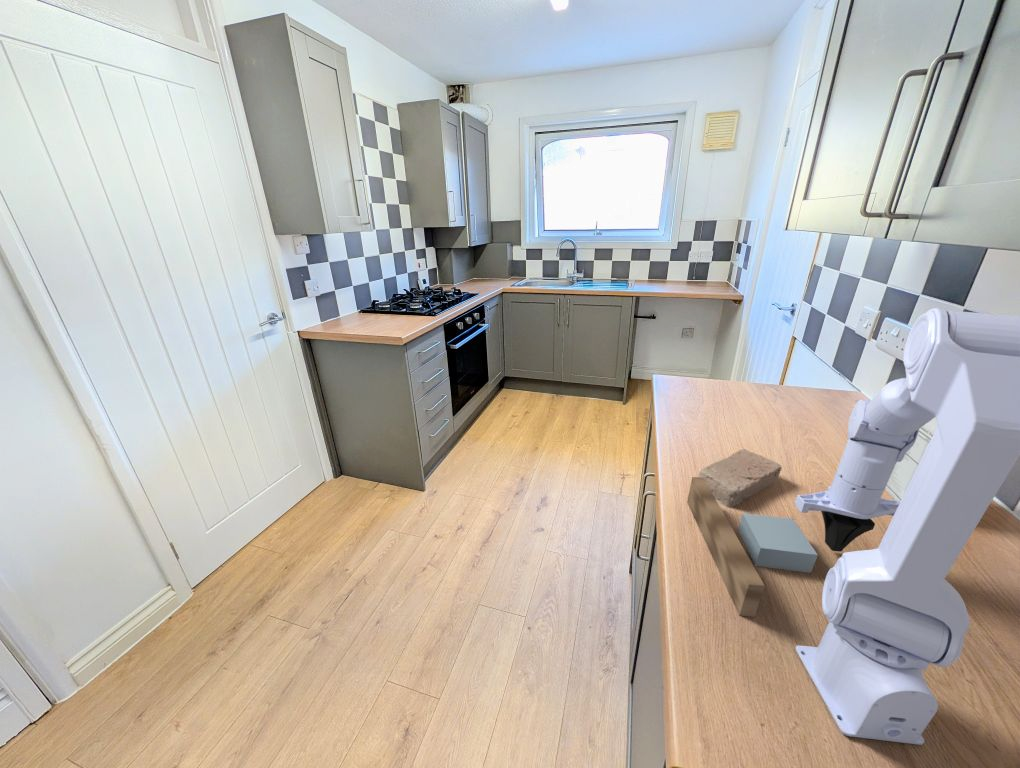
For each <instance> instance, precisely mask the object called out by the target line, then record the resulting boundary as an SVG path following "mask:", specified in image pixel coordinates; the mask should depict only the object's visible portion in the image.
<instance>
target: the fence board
mask: <svg viewBox="0 0 1020 768" xmlns="http://www.w3.org/2000/svg"><path fill="white" fill-rule="evenodd" d="M686 503H687V505H688V507H689V509H690V511H691V514H692V516H693V518H694V520H695V522H696V525H697V527H698V529H699V532H700V533H701V536H702V537H703V540H704V542H705V544H706V546H707V549H708V551H709V553H710V555H711V557H712V560H713V562H714V564H715V565H716V568H717V570H718V572H719V575H720V576H721V578H722V581H723V583H724V585H725V587H726V589H727V592H728V593H729V596H730V598H731V600H732V603H733V604H734V607H735V609H736V611H737V613H738V615H739V616H743V617H753V618H754V617H755V616H756V614H757V610H758V607H759V604H760V601H761V598H762V595H763V592H764V589H765V583H764V582H763V580H762V579H761V577H760V575H759V573H758V572H757V570H756V568H755V566H754V565H753V564H754V563H753V562H752V561H751V559H750V557H749V556H748V554H747V552H746V550H745V548H744V547H743V545H742V543H741V541H740V540H739V539H738V537H737V535H736V532H735V531H734V529H733V528H732V526H731V524H730V522H729V521H728V519H727V517H726V515H725V514H724V512H723V510H722V508H721V507H720V505H719V502H718V501H717V500H716V499H715V498H714V496H713V494H712V492H711V490H710V489H709V487H708V485H707V483H706V482H705V480H704V478H701V477H697V476H692V477H691V482H690V486H689V492H688V496H687V500H686Z"/></svg>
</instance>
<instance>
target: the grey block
mask: <svg viewBox="0 0 1020 768" xmlns="http://www.w3.org/2000/svg"><path fill="white" fill-rule="evenodd" d="M737 531H738V533H739V534H740V537H741V538H742V541H743V543H744V546H745V548H746V550H747V552H748V553H749V555H750V557H751V560H752V563H753V564H754V565H755V566H754V567H763V568H772V569H777V570H779V569H781V570H786V571H793V572H794V571H795V572H801V573H802V572H803V573H810V574H811V573H812V571H813V568H814V566H815V563H816V562H817V561H816V560H817V558H818V553H817V552H816V550H815V548H814V547H813V546H812V544H811V543H810V541H809V540H808V539H807V536H806V535H805V533H803V531H802V530H801V528H800V527H799V525H798V524H797V521H795V520H794V518H789V517H788V518H787V517H779V516H778V517H777V516H771V515H761V514H753V513H744V512H743V513H742V514H741V518H740V522H739V525H738V529H737Z"/></svg>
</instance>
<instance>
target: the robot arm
mask: <svg viewBox="0 0 1020 768" xmlns="http://www.w3.org/2000/svg"><path fill="white" fill-rule="evenodd" d="M902 360H903V361H902V362H903V365H904V368H905V369H904V370H905V376H906V377H901V378H898V379H897V378H896V379H894V380H892V381H889V382H888V383H886V384H885V385H884V386H883V387H882V389H880V390H879V392H878V393H876V395H875V396H874V397H873V398H872V399H871V400H866V399H859V400H858V401H857V402H856V403H855V405H854V407H853V409H852V411H851V413H850V416H849V419H848V423H847V436H848V439H847V442H846V445H845V447H844V449H843V453H842V455H841V459H840V461H839V464H838V465H837V469H836V472H835V474H834V477H833V480H832V482H831V484H830V485H828V487H827V490H825V491H819V492H814V493H809V494H797V496H796V498H795V501H794V505H795V507H796V509H798V510H799V511H800V513H807V514H808V513H809V511H817V512H820V513H821V514H822V518H823V523H824V543H825V544H826V545H827V547H828V548H829V549H830V550H831V552H842V551H843V550H844V549H845V548H846V547H847V546H848V545H849V544H850V543H852V542H853V541H854V540H855V539H857V538H858V537H860V536H861V535H863V534H864V533H867V532H869V531H872V530H874V528H875V527H876V523H875V521H873V520H872V519H874V518H879V517H883V516H892V518H891V520H890V523H889V525H888V527H887V529H886V531H885V533H884V535H883V537H882V539H881V541H880V544H879V545H878V547H877V548H873V549H864V550H854V551H848V552H846V551H845V552H843V553H842V555H841V556H840V557H839V558H838V559H837V561H836V563H835V564H834V566H832V567H831V568H829V570H828V572H827V573H826V576H825V579H824V583H823V588H822V592H821V593H822V594H821V609H822V612H823V614H824V616H825V618H826V619H827V620H828V624H827V626H826V628H825V630H824V633H823V635H822V638H821V640H820V642H819V644H818V646H810V645H800V644H799V645H796V646H795V651H796V653H797V655H798V657H799V658H800V661H801V662H802V663H803V666H804V668H805V669H806V671H807V672H808V675H809V676H810V678H811V680H812V681H813V683H814V685H815V687H816V689H817V691H818V693H819V694H820V696H821V698H822V700H823V702H824V704H825V705H826V707H827V709H828V711H829V713H830V714H831V716H832V718H833V720H834V721H835V723H836V725H837V726H838V728H839V729H838V730H840V732H841V733H842V734H843V735H844V736H847V737H853V738H861V739H867V740H868V739H869V740H879V741H886V742H896V743H903V744H912V745H917V746H918V745H920V746H922V745H924V743H925V741H926V740H925V739H924V737H923V735H922V734H923V732H924V731H925V729H926V728H927V727H928V725H929V724H930V722H931V721H932V720H933V718H934V717H935V715H936V713H937V711H938V709H939V703H938V700H937V699H936V697H935V695H934V693H933V692H932V691H931V689H930V688H929V685H928V683H927V682H926V680H925V678H924V675H923V672H922V671H924V672H925V671H927V669H928V667H929V666H930V665H931V664H932V665H934V666H937V667H939V668H946V667H948V666H950V665H952V664H954V663H955V662H957V661H958V660H959V658H960V656H961V654H962V651H963V648H964V642H965V636H966V634H967V631H968V629H969V627H970V626H971V621H970V617H969V614H968V609H967V606H966V604H965V602H964V600H963V597H962V595H960V593H959V592H958V591H957V590H956V588H955V587H954V586H952V584H951V583H949V582H948V581H947V580H946V579H945V578H946V577H947V575H948V574H949V572H950V570H951V568H952V567H953V565H954V564H955V562H956V561H957V558H958V557H959V556H960V554H961V552H962V551H963V549H964V548H965V546H966V544H967V542H968V541H969V539H970V537H971V536H972V534H973V533H974V530H975V529H976V528H977V526H978V524H979V523H980V521H981V519H982V517H983V516H984V514H985V513H986V511H987V510H988V508H989V506H990V505H991V503H992V501H993V499H994V498H995V497H996V495H997V493H998V492H999V489H1000V488H1001V486H1002V485H1003V483H1004V482H1005V480H1006V478H1007V477H1008V475H1009V473H1010V471H1011V470H1012V468H1013V467H1014V465H1015V463H1016V462H1017V460H1018V458H1019V457H1020V315H1014V314H1013V315H1012V314H1002V313H1001V314H1000V313H999V314H997V313H988V312H987V313H986V312H972V311H960V310H959V311H957V310H946V309H945V308H941V307H940V308H939V307H932V308H931V309H929V310H927V311H926V312H924V313H922V314H921V315H920V316H919V317H918V318H917V319H916V320H915V322H914V323H913V325H912V327H911V329H910V331H909V334H908V336H907V339H906V342H905V345H904V350H903V357H902ZM935 417H936V419H937V423H938V426H937V428H936V430H935V432H934V434H933V436H932V438H931V440H930V442H929V444H928V446H927V448H926V450H925V452H924V454H923V457H922V459H921V461H920V463H919V465H918V467H917V469H916V471H915V473H914V475H913V477H912V479H911V481H910V483H909V485H908V487H907V489H906V492H905V494H904V496H903V498H902V500H901V502H898V501H896V500H895V499H893V500H892V499H886V498H882V496H883V494H884V492H885V491H886V489H885V487H886V485H887V483H888V480H889V478H890V476H891V474H892V471H893V469H894V467H895V465H896V462H901V461H902V460H903V458H904V456H905V454H906V452H907V451H908V450H909V449H910V448H911V447H912V446H913V445H914V443H915V441H916V438H917V435H918V432H919V428H921V427H922V426H924V425H925V424H926V423H928V422H929V421H931V420H932V419H933V418H935Z"/></svg>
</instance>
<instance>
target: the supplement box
mask: <svg viewBox="0 0 1020 768" xmlns="http://www.w3.org/2000/svg"><path fill="white" fill-rule="evenodd" d="M937 426H938V423H937V419H936V417H935V418H933V419H932V420H931V421H929V422H928V423H926V424H925V425H924V426H922V427H921V428H919V432H918V435H917V438H916V441H915V443H914V445H913V446H912V447H911V448H910V449H909V450H908V451H907V452H906V454H905V456H904V458H903V460H902V461H901V462H896V465H895V467H894V469H893V471H892V474H891V476H890V478H889V480H888V483H887V485H886V487H885V491H886V492H887V493H888V494H889V495H890V496H891V497H892V499H893V500H896V501H898V502H901V500H902V498H903V496H904V494H905V492H906V489H907V487H908V485H909V483H910V481H911V479H912V477H913V475H914V473H915V471H916V469H917V467H918V465H919V463H920V461H921V459H922V457H923V454H924V452H925V450H926V448H927V446H928V444H929V442H930V440H931V438H932V436H933V434H934V432H935V430H936V428H937Z"/></svg>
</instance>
